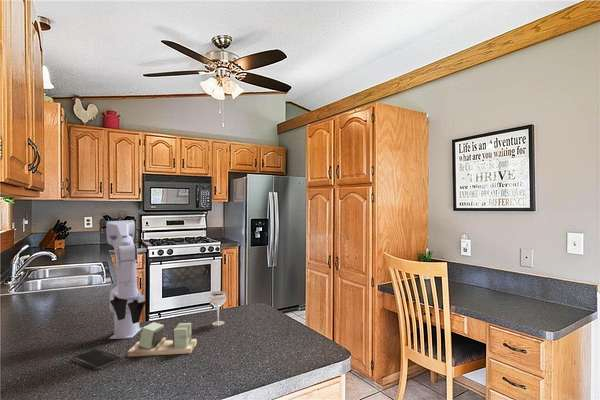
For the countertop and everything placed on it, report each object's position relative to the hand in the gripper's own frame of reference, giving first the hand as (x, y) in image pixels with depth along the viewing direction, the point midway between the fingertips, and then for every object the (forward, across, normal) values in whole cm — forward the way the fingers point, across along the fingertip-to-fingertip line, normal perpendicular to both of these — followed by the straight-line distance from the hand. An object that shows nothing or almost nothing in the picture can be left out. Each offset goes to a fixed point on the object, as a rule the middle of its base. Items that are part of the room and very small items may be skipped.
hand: (128, 321), depth 117 cm
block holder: (+9, -11, -5) cm, 15 cm away
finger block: (+7, -8, -2) cm, 11 cm away
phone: (+10, +2, +10) cm, 14 cm away
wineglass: (+10, -11, -32) cm, 35 cm away
